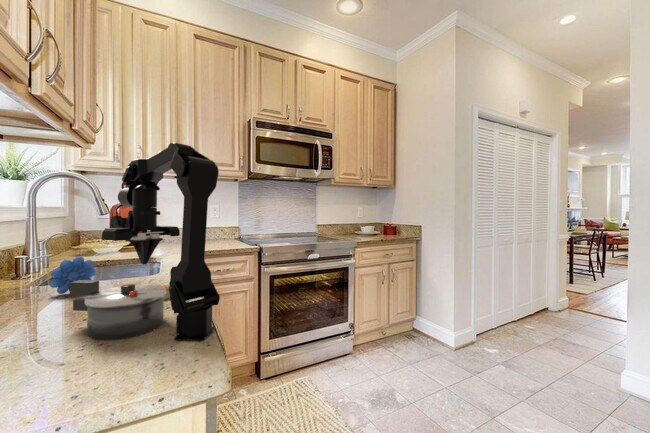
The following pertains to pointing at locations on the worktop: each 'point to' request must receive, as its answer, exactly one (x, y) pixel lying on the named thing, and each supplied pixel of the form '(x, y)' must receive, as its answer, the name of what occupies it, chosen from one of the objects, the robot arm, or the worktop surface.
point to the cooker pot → (121, 319)
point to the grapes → (71, 273)
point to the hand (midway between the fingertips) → (144, 264)
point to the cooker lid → (116, 294)
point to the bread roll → (166, 291)
